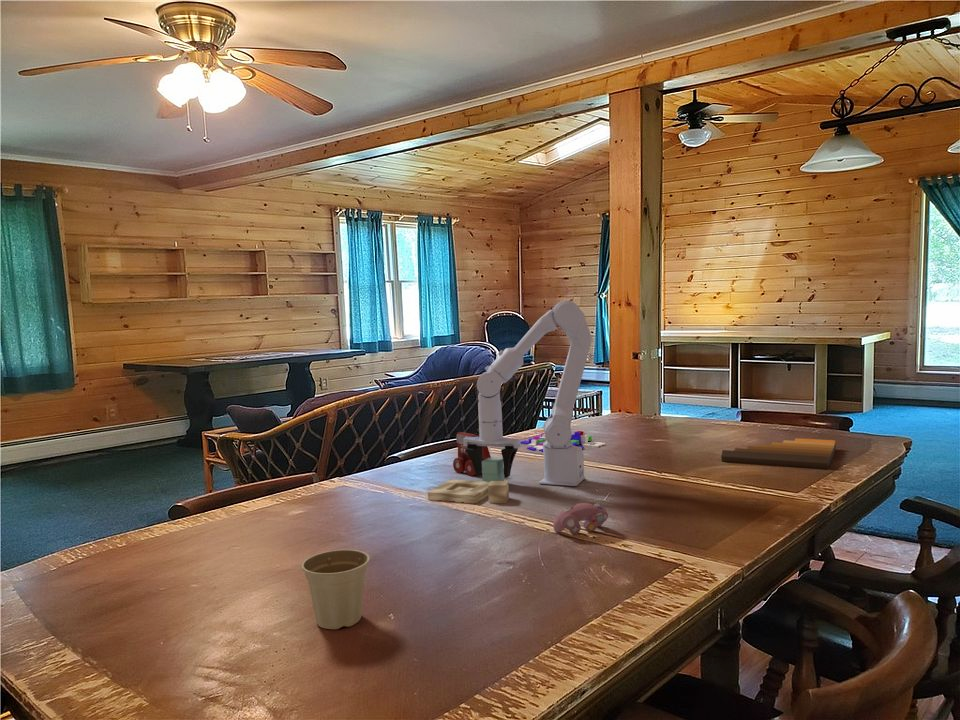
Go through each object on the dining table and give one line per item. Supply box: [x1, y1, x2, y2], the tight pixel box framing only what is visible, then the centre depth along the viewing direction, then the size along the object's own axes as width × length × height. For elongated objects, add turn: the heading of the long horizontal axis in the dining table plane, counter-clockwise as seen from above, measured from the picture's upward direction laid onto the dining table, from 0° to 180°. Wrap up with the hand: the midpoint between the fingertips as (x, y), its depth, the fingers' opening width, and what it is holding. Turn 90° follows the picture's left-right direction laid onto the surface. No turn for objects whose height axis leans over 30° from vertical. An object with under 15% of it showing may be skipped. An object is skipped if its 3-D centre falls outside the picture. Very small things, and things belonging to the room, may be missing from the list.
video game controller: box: [552, 502, 609, 535], centre depth 128 cm, size 10×5×7 cm, turn 106°
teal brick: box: [481, 457, 505, 482], centre depth 168 cm, size 4×4×6 cm
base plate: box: [427, 479, 490, 504], centre depth 159 cm, size 12×12×2 cm
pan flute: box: [720, 437, 837, 470], centre depth 183 cm, size 25×3×25 cm
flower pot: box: [301, 549, 371, 630], centre depth 96 cm, size 9×9×9 cm
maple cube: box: [487, 480, 510, 504], centre depth 153 cm, size 4×4×4 cm
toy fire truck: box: [452, 431, 492, 477], centre depth 181 cm, size 7×12×10 cm, turn 40°
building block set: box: [520, 430, 607, 453], centre depth 211 cm, size 25×20×4 cm
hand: (492, 475), depth 168 cm, fingers open, 7 cm apart
